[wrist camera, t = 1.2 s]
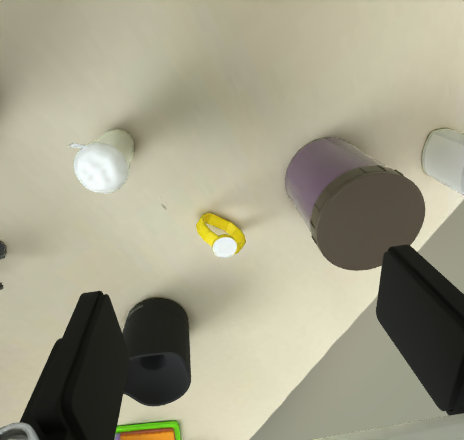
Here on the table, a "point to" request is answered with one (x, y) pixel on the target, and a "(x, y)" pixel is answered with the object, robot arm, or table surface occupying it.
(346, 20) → the table surface
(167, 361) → the pen holder
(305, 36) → the table surface
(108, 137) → the milkshake
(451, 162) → the eye dropper bottle
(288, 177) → the jar
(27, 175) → the table surface
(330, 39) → the table surface
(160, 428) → the dollhouse room
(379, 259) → the jar lid
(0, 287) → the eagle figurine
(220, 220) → the watch
